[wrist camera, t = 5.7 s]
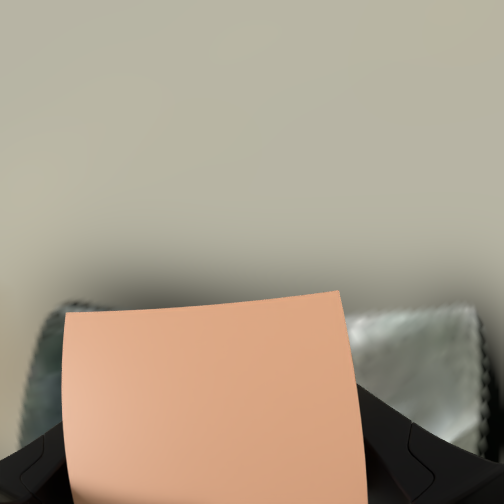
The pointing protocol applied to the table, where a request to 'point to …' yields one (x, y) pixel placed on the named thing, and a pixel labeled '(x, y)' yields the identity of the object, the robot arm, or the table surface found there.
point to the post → (213, 405)
